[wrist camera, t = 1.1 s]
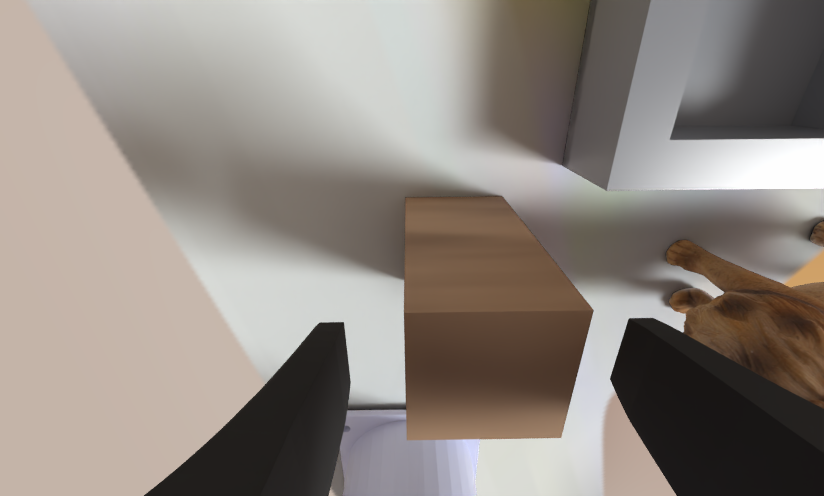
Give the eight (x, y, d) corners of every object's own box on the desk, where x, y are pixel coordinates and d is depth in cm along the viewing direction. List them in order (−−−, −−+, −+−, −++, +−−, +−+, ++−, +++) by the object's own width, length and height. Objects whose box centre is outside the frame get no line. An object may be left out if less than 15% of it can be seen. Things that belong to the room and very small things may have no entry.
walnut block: (493, 280, 16) (561, 437, 9) (406, 281, 16) (406, 440, 9) (502, 196, 15) (593, 310, 8) (405, 197, 15) (403, 313, 8)
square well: (799, 163, 14) (911, 187, 11) (562, 165, 14) (606, 190, 11) (952, -173, 10) (1197, -285, 7) (619, -171, 10) (716, -284, 7)
